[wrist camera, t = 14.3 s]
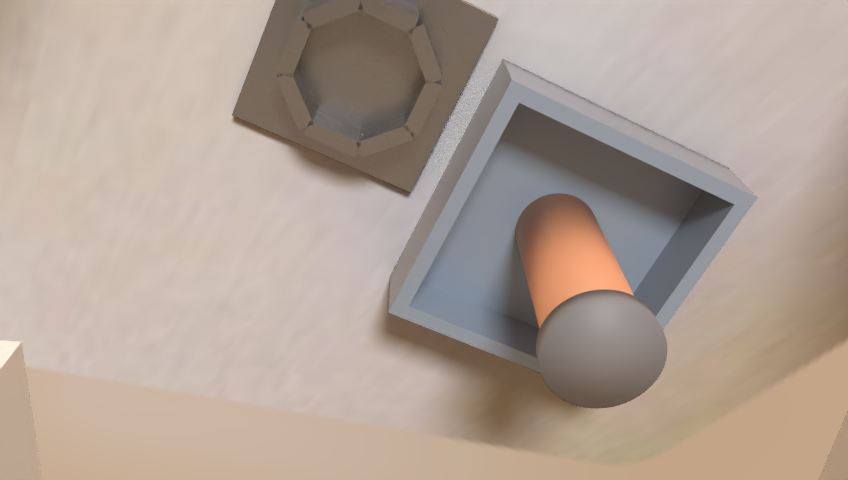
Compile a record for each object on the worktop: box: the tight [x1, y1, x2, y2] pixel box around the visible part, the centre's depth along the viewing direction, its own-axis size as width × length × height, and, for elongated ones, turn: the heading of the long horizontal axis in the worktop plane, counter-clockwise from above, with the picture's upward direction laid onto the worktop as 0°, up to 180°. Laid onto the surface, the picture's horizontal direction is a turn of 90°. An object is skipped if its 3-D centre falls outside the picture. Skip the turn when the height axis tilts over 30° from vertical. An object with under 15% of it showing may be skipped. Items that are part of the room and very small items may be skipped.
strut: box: [515, 193, 667, 408], centre depth 38 cm, size 5×5×12 cm
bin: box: [388, 59, 758, 373], centre depth 42 cm, size 14×14×4 cm
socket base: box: [232, 0, 498, 192], centre depth 38 cm, size 10×10×2 cm
